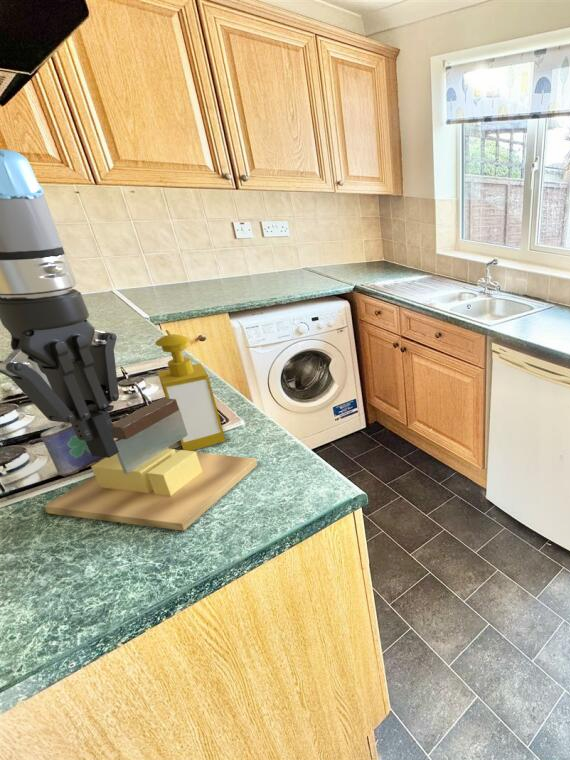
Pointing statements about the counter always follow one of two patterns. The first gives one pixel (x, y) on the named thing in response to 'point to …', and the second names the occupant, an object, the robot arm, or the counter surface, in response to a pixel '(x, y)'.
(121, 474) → the butter block
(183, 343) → the soap bottle
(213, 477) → the butter board
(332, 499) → the counter surface
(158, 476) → the butter pat
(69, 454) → the flask
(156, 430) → the dough scraper
